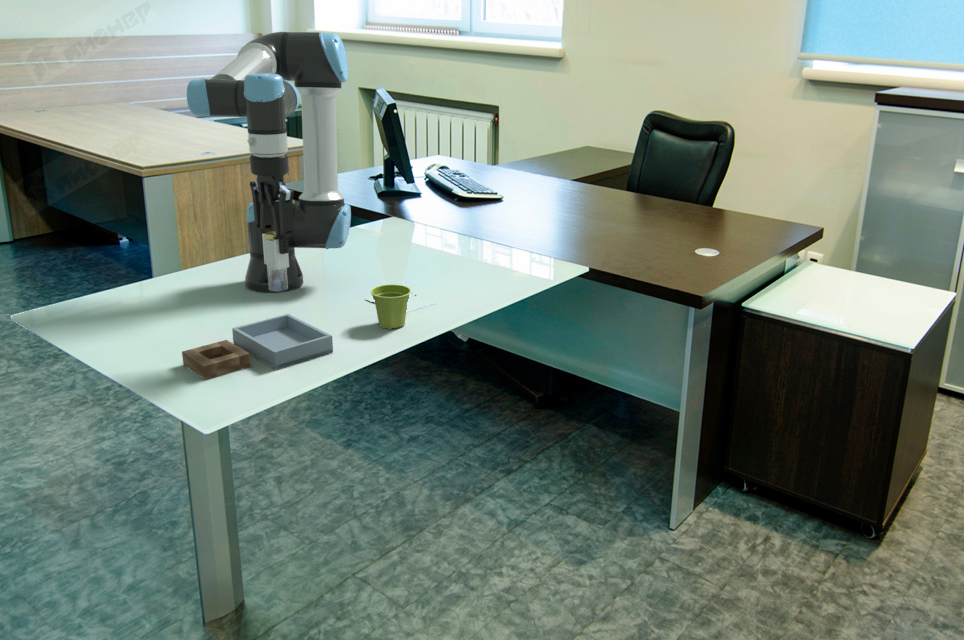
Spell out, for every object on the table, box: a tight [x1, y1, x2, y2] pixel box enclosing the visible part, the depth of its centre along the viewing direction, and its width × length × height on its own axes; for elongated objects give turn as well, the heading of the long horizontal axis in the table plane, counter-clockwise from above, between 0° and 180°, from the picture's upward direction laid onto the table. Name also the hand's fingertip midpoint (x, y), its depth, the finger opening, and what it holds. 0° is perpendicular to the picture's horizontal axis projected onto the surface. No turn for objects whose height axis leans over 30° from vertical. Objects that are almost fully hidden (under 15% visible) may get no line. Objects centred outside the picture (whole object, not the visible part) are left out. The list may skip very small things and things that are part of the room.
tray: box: [231, 313, 334, 371], centre depth 179 cm, size 14×18×4 cm
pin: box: [265, 231, 288, 292], centre depth 172 cm, size 4×4×12 cm
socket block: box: [181, 339, 252, 381], centre depth 170 cm, size 10×10×3 cm
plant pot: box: [370, 283, 412, 329], centre depth 193 cm, size 9×9×9 cm
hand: (276, 265), depth 173 cm, fingers closed on pin, 4 cm apart
